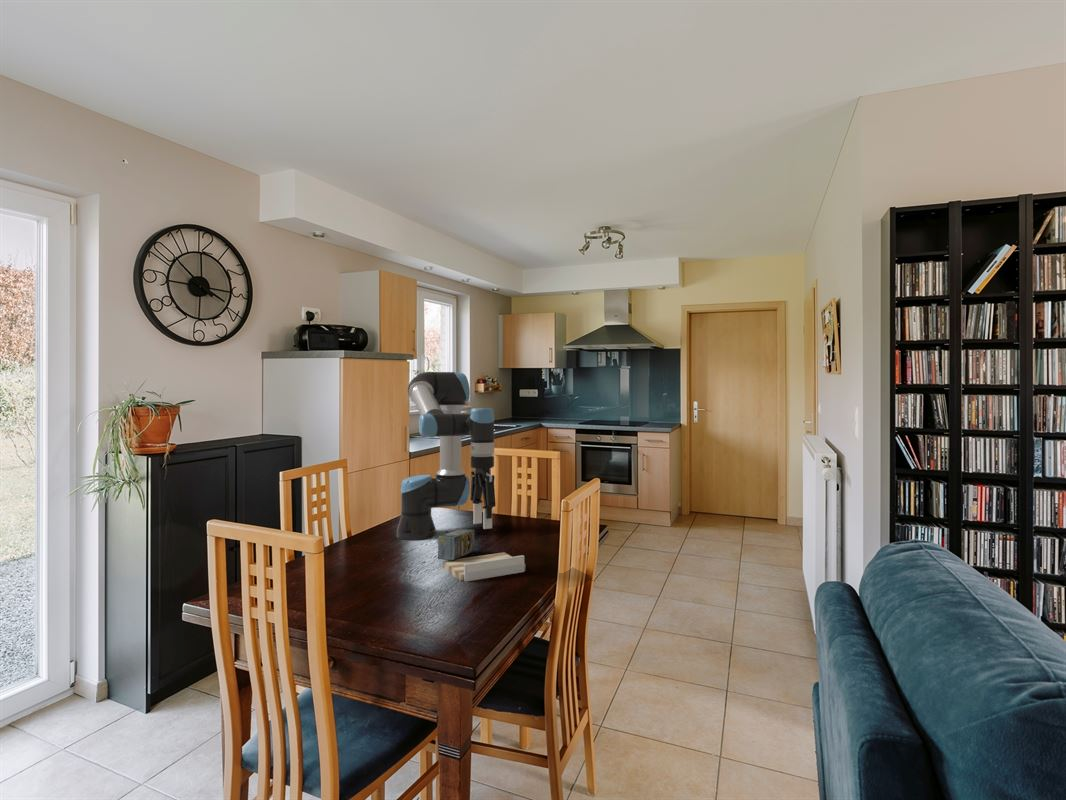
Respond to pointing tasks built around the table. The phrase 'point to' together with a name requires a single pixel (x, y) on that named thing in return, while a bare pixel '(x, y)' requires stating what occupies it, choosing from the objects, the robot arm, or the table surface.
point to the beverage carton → (455, 544)
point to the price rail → (493, 568)
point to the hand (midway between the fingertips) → (482, 525)
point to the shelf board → (458, 564)
